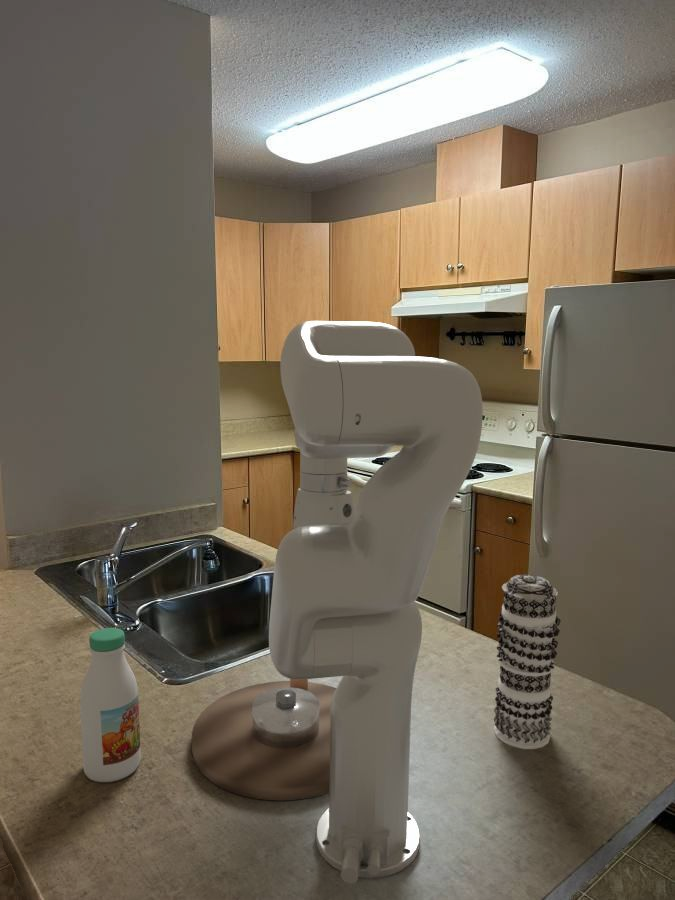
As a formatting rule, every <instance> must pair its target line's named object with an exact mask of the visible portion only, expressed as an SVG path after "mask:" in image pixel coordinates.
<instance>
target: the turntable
mask: <svg viewBox="0 0 675 900" xmlns="http://www.w3.org/2000/svg"><path fill="white" fill-rule="evenodd" d="M284 687H291V688H299V689H303V690H306V691H309V692H311V693H312V694H314V695H315V696H316V697H317V698H318V700H319V732H318V734H317V736H316V737H315V738H314V739H313V740H312V741H310V742H309V743H307V744H305V745H302V746H299V747H294V748H274V747H270V746H266V745H264V744H262V743H260V742H259V741H258V740H257V739H256V738H255V737H254V735H253V723H252V705H253V701H254V700H255V699H256V697H258V696H259V695H260V694H262V693H264V692H266V691H268V690H272V689H276V688H284ZM336 688H337V687H335V686H332V685H327V684H324V683H317V682H312V681H309V679H290V678H289V680H279V681H278V680H277V681H269V682H261V683H257V684H253V685H249V686H245V687H243V688H239V689H236V690H234V691H231V692H229V693H227V694H224V695H223V696H220V697H219V698H218V699H216V700H215V701H213V702H211V704H209V705H208V706H207V707H205V708H204V710H203V711H201V713H200V714H199V716H198V717H197V718H196V720H195V722H194V724H193V726H192V731H191V746H192V747H191V753H192V757H193V761H194V763H195V765H196V767H197V768H198V770H199V771H200V772H201V774H202V775H203V776H204V778H206V779H207V780H209V781H210V782H211V783H213V784H214V785H216V786H217V787H220V788H222V789H224V790H226V791H227V792H229V793H233V794H237V795H239V796H243V797H248V798H251V799H257V800H266V801H294V800H302V799H309V798H313V797H318V796H322V795H325V794H328V793H329V779H330V708H331V702H332V698H333V695H334V692H335V690H336Z"/></svg>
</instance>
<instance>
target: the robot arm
mask: <svg viewBox="0 0 675 900" xmlns="http://www.w3.org/2000/svg"><path fill="white" fill-rule="evenodd" d="M279 369H280V379H281V385H282V389H283V393H284V396H285V399H286V402H287V405H288V408H289V412H290V416H291V420H292V423H293V425H294V436H293V437H294V443H295V446H296V448H297V449H298V450H299V453H300V454H299V455H300V457H299V460H300V461H299V462H300V463H299V465H300V466H299V468H300V469H299V488H298V489H297V492H296V497H295V503H294V512H293V522H292V523H293V524H292V525H293V526H292V527H293V529H292V530H290V531H289V532H287V533H286V534H285V535H284V537H283V538H282V539H281V541H280V543H279V545H278V548H277V551H276V556H275V561H274V562H275V563H274V568H273V579H272V590H271V602H270V603H271V604H270V611H269V612H270V613H269V623H268V624H269V626H268V648H269V654H270V658H271V662H272V664H273V666H274V668H275V670H276V671H277V672H278V673H279V674H280V675H281V676H282V677H284V678H288V679H289V680H290V679H308V680H312V679H313V680H314V679H324V678H335V677H336V678H337V677H341V679H340V681H339V682H338V684H337V686H336V687H335V688H336V690H335V692H334V695H333V698H332V702H331V708H330V779H329V792H328V793H329V796H328V797H329V798H328V801H329V802H328V804H329V805H328V808H327V809H325V811H324V812H323V813H322V814H321V816H320V817H319V819H318V821H317V823H316V828H315V840H316V846H317V849H318V851H319V854H320V855H321V856H322V857H323V859H324V860H325V861H326V862H327V863H328V864H329V865H330V866H332V867H333V868H334V869H336V870H338V871H340V877H341V880H342V881H343V882H345V883H346V884H349V885H350V884H355V883H356V882H357V881H359V880H358V879H359V878H367V879H376V878H384V877H389V876H391V875H394V874H396V873H399V872H401V871H403V870H404V869H406V868H408V866H409V865H410V864H411V863H412V862H413V861H414V860H415V859H416V856H417V855H418V854H419V849H420V845H421V834H420V828H419V825H418V822H417V821H416V820H415V818H414V817H413V815H412V814H411V813H409V786H410V785H409V784H410V753H411V752H410V750H411V720H412V702H413V701H412V700H413V699H412V698H413V697H412V696H413V688H414V685H413V684H414V679H415V673H416V668H417V667H416V666H417V662H418V658H419V653H420V650H421V649H420V648H421V645H422V644H421V643H422V636H423V621H422V615H421V612H420V609H419V606H418V604H417V603H416V600H417V599H418V597H419V596H420V594H421V592H422V590H423V587H424V584H425V582H426V578H427V576H428V572H429V569H430V566H431V562H432V559H433V555H434V552H435V548H436V546H437V542H438V538H439V535H440V530H441V528H442V527H441V526H442V524H443V521H444V519H445V516H446V514H447V512H448V510H449V508H450V507H451V505H452V503H453V502H454V500H455V498H456V496H457V495H458V493H459V491H460V490H461V488H462V486H463V485H464V482H465V481H466V479H467V477H468V475H469V473H470V471H471V469H472V466H473V464H474V461H475V459H476V457H477V454H478V449H479V445H480V441H481V435H482V428H483V414H484V413H483V412H484V411H483V409H484V408H483V407H484V406H483V398H482V392H481V388H480V386H479V383H478V380H477V379H476V377H475V376H474V374H473V373H472V372H471V371H470V370H468V369H467V367H465V366H462V365H461V364H459V363H457V362H455V361H450V360H446V359H442V358H437V357H430V356H429V357H428V356H416V351H415V347H414V345H413V343H412V341H411V340H410V338H409V337H408V335H406V333H405V332H404V331H402V330H400V329H399V328H398V327H396V326H393V325H391V324H387V323H383V322H376V321H342V320H340V321H338V320H337V321H336V320H334V321H333V320H309V321H303V322H300V323H299V324H297V325H296V326H294V327H293V328H292V329H291V330H290V331H289V333H288V334H287V335H286V338H285V340H284V343H283V346H282V349H281V354H280V368H279ZM394 446H397V447H398V446H402V448H401V449H400V450H399V451H398V452H397V453H396V454H395V455H394V456H392V457H391V458H389V459H388V460H387V461H386V462H385V463H383V464H382V465H381V466H380V467H379V468H378V469H377V470H376V472H374V473H373V474H372V476H371V477H370V478H369V479H368V481H367V482H365V484H364V485H363V487H362V489H361V491H360V492H359V495H358V497H357V502H356V507H355V504H354V498H353V494H352V492H351V491H350V490H348V488H351V486H352V485H353V480H352V479H351V478H348V459H354V458H355V459H357V458H358V459H359V458H360V459H362V458H363V459H364V458H365V459H367V458H368V459H369V458H372V459H373V458H379V457H382V456H385V455H386V454H387V453H389V452H390V451H391V449H393V448H394Z"/></svg>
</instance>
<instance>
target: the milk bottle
mask: <svg viewBox="0 0 675 900" xmlns="http://www.w3.org/2000/svg"><path fill="white" fill-rule="evenodd" d="M88 640H89V642H88V643H89V647H90V648H89V652H90V653H91V657H90V658H91V659H90V664H89V666H88V668H87V671H86V674H85V675H84V678H83V681H82V684H81V690H80V729H81V744H82V745H81V747H82V748H81V749H82V766H83V772H84V774H85V776H86V777H87V778H88V779H90V780H91V781H93V782H96V783H97V782H98V783H113V782H116V781H119V780H123V779H125V778H128V776H131V775H132V774H133V773H135V772H136V770H137V769H138V767H139V765H140V763H141V757H142V756H141V751H142V750H141V727H140V726H141V725H140V704H139V702H140V701H139V691H138V688H139V687H138V683H137V679H136V677H135V674H134V672H133V670H132V668H131V666H130V665H129V663H128V661H127V658H126V656H125V652H124V649H125V647H126V644H125V642H126V637H125V632H124V630H123V629H121V628H118V627H106V628H101V629H97V630H95V631H93V632H92V633H91V634H90V635H89V639H88Z"/></svg>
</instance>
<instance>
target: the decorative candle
mask: <svg viewBox="0 0 675 900" xmlns="http://www.w3.org/2000/svg"><path fill="white" fill-rule="evenodd" d="M501 588H502V590H503V592H504V593H503V604H502V605H501V614H499V615H498V616H497V618H498V619H497V620H498V623H497V624H496V628H497V629H498V632H497V633H496V637H497V641H498V645H497V646H496V650H497V651H498V654H497V655H496V657H497V661H498V664H499V672H500V674H499V676H498V677H497V678H498V679H497V680H498V681H497V687H495V693H496V696H495V697H494V699H495V706H494V709H493V711H494V716H493V722H494V726H493V731H494V734H495V736H496V737H497V738H498V739H499V741H501V742H503V743H504V744H506V745H509V746H510V747H513V748H516V749H517V748H518V749H521V750H537V749H540V748H541V749H542V748H544V747H545V746H546V745H548V744H549V742H550V737H551V735H550V734H551V732H550V731H551V730H552V726H551V721H553V719H552V718H553V717H552V716H550V715H551V714H552V710H553V706H552V703H553V702H552V701H554V697H553V695H552V681H551V680H552V678H551V677H552V672H553V671H554V669H555V662H554V660H553V659H556V658H557V656H558V652H557V651H556V649H557V648H558V645H559V642H558V641H557V640H556V639H555V637H557V636H559V634H560V633H561V632H560V631H561V630H560V629H559V628H558V626H560V623H561V621H562V620H561V619H560V618H559V617H558V616H557V610H556V603H557V602H556V600H557V596H558V593H559V592H558V590H557V589H556V588H555V587H553V586H552V584H551V583H550V581H549V580H548V579H547V578H544V577H542V576H538V575H534V574H517V575H514V576H512V577H510V579H509V580H508V581H507V582H505V583H503V584H502V586H501Z"/></svg>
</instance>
